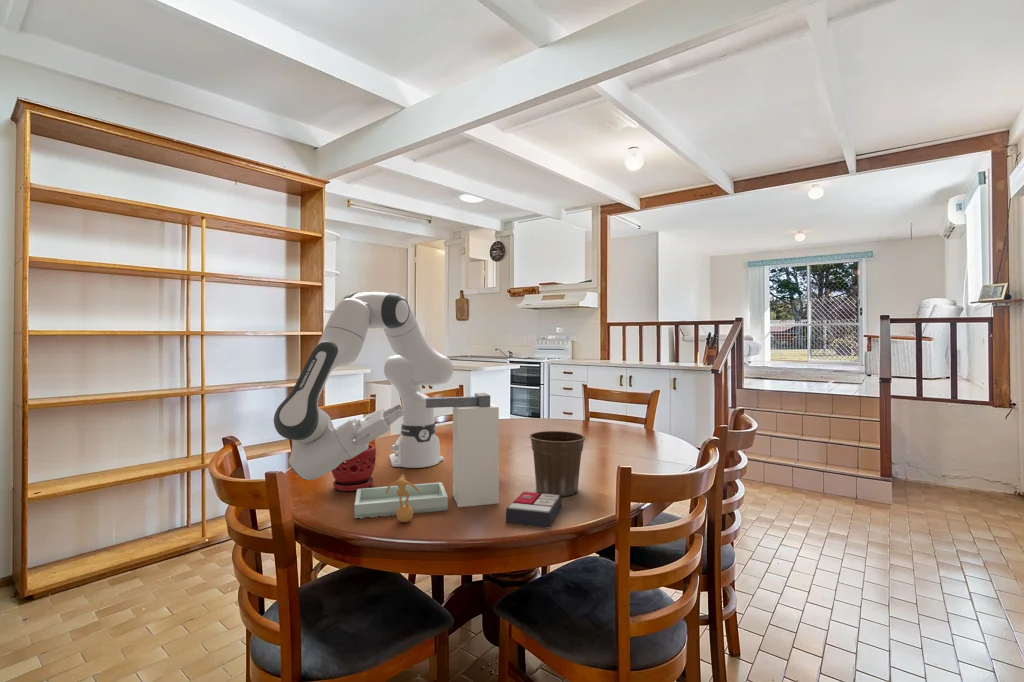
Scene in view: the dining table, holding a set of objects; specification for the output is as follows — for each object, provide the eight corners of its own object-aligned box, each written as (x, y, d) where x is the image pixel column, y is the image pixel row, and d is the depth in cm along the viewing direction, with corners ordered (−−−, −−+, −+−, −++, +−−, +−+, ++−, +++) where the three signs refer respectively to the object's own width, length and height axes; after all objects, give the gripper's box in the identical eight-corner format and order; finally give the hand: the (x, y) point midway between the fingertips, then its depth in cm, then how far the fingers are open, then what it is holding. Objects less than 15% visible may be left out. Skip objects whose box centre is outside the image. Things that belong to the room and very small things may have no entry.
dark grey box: (561, 493, 127) (550, 510, 113) (561, 510, 127) (549, 528, 112) (522, 490, 130) (505, 505, 116) (521, 506, 130) (505, 523, 116)
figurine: (423, 518, 118) (423, 470, 118) (417, 528, 112) (417, 477, 112) (390, 518, 119) (390, 469, 118) (382, 527, 113) (382, 477, 112)
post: (453, 495, 136) (452, 403, 136) (490, 491, 139) (490, 402, 139) (458, 507, 126) (458, 408, 126) (498, 503, 129) (498, 407, 129)
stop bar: (424, 405, 132) (424, 394, 132) (485, 403, 137) (485, 392, 137) (427, 409, 125) (427, 397, 125) (490, 406, 130) (490, 395, 130)
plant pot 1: (384, 483, 148) (384, 444, 147) (355, 496, 135) (355, 453, 135) (350, 478, 152) (350, 440, 152) (319, 490, 140) (319, 449, 140)
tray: (357, 501, 131) (357, 488, 131) (441, 494, 137) (441, 482, 136) (354, 519, 118) (354, 504, 118) (447, 510, 124) (447, 496, 124)
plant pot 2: (568, 479, 151) (568, 428, 150) (596, 495, 136) (596, 438, 136) (520, 486, 144) (520, 432, 144) (544, 503, 129) (544, 443, 129)
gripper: (344, 433, 113) (396, 403, 117) (350, 420, 133) (394, 395, 136) (358, 456, 114) (409, 425, 117) (362, 440, 134) (406, 413, 137)
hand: (401, 408), depth 127 cm, fingers open, 8 cm apart
